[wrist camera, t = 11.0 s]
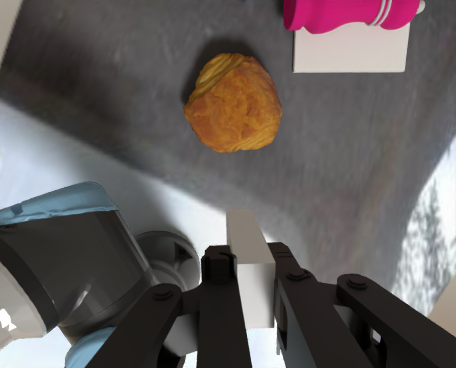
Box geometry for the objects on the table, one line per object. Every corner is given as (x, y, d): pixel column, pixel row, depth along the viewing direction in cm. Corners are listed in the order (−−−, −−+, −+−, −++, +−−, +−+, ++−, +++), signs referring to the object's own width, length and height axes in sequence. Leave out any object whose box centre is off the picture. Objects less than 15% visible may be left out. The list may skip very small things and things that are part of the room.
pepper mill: (281, 41, 44) (403, 41, 46) (297, 23, 37) (441, 24, 38) (282, -11, 42) (407, -9, 44) (298, -40, 35) (447, -36, 37)
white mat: (292, 72, 46) (294, 71, 45) (297, -42, 42) (298, -45, 42) (401, 72, 47) (404, 71, 46) (413, -40, 43) (417, -43, 42)
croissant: (249, 48, 47) (254, 25, 39) (290, 133, 48) (303, 128, 40) (171, 88, 47) (160, 73, 39) (214, 171, 48) (211, 173, 40)
